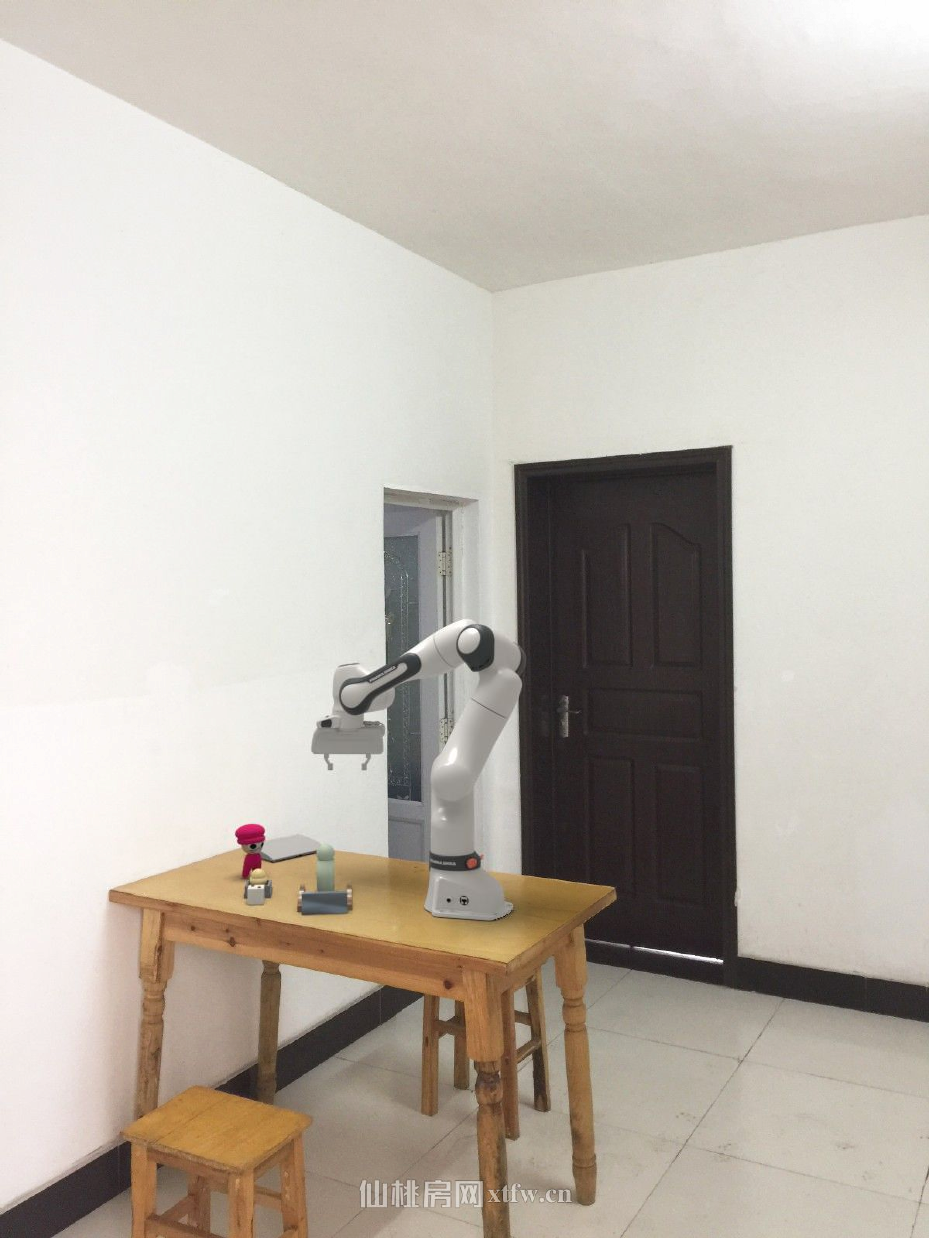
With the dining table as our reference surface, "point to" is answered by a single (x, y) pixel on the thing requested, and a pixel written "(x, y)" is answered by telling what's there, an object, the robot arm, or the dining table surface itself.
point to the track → (324, 901)
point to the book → (288, 847)
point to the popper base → (267, 889)
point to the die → (256, 894)
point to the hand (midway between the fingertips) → (347, 770)
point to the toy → (251, 846)
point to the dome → (258, 877)
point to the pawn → (325, 868)
